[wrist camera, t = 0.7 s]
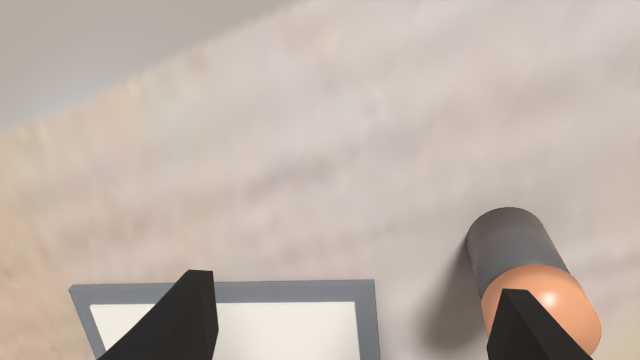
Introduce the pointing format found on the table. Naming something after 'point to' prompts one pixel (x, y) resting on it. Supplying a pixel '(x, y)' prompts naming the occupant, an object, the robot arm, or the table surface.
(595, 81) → the table surface
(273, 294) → the writing pad
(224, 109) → the table surface
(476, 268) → the orange-topped grey cylinder
